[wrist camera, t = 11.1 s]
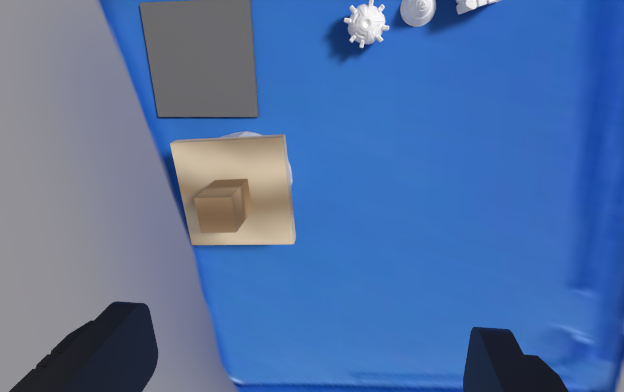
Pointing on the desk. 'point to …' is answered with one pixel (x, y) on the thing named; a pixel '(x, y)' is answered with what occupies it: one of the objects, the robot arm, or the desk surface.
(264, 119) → the desk surface
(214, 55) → the mat
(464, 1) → the game pieces
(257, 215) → the lid
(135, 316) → the robot arm
